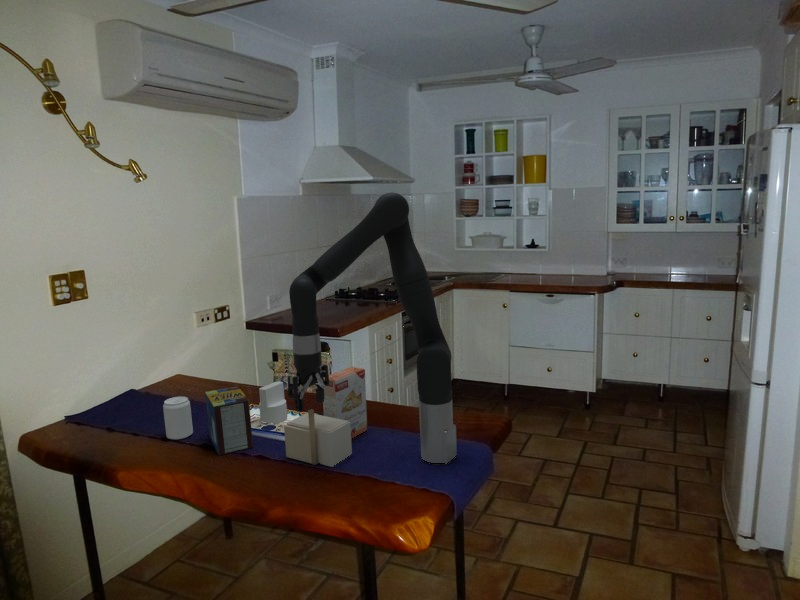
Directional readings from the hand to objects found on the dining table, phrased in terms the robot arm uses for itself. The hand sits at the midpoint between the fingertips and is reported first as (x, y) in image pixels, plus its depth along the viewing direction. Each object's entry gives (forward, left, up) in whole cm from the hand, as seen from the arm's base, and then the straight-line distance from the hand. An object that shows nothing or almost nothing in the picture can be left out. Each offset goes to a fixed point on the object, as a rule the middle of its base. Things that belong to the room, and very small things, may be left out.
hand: (310, 406), depth 165 cm
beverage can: (+53, +4, -17) cm, 56 cm away
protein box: (+33, 0, -17) cm, 38 cm away
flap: (+5, 0, -17) cm, 17 cm away
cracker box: (+3, -20, -17) cm, 26 cm away
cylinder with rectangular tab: (+35, -21, -17) cm, 44 cm away
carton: (+2, -6, -17) cm, 18 cm away
